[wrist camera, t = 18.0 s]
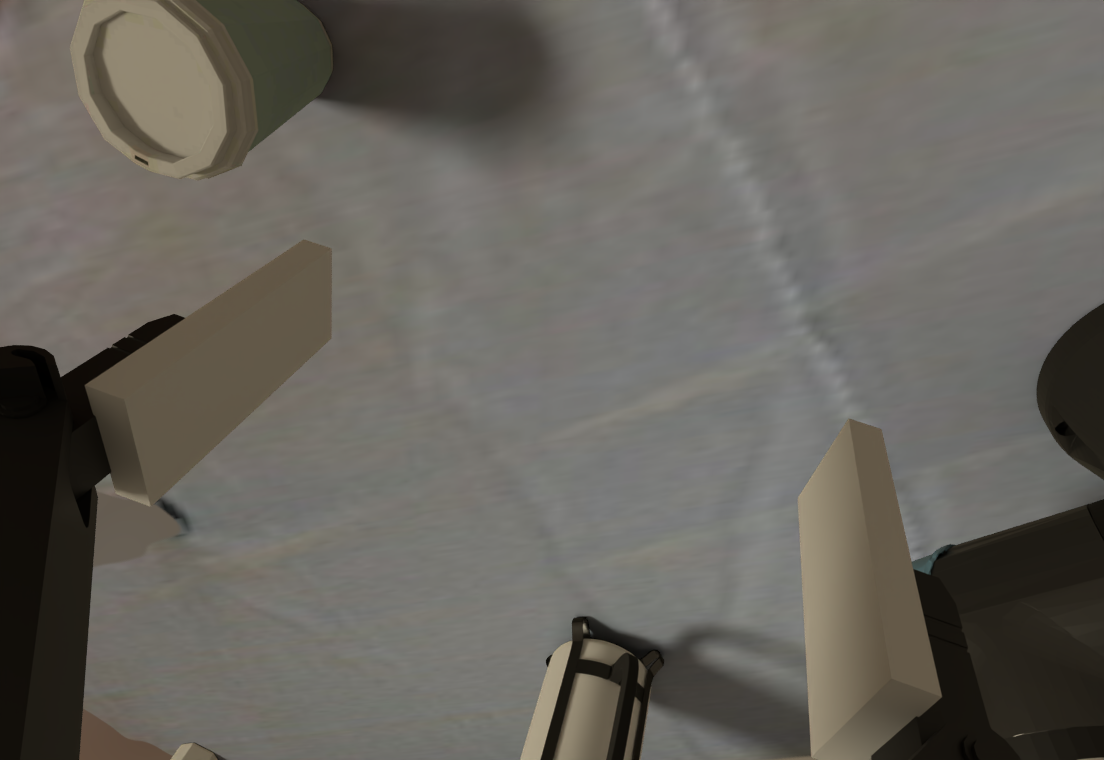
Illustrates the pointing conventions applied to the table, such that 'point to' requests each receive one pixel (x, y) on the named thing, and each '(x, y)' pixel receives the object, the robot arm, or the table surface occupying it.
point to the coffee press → (591, 701)
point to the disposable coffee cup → (196, 77)
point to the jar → (193, 753)
